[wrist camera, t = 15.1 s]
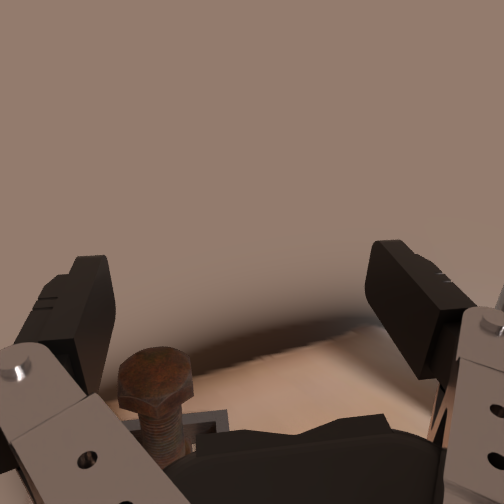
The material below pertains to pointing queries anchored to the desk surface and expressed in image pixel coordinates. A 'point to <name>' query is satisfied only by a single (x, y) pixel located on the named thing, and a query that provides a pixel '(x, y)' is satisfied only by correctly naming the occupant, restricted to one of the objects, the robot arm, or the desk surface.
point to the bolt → (158, 399)
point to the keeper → (190, 424)
